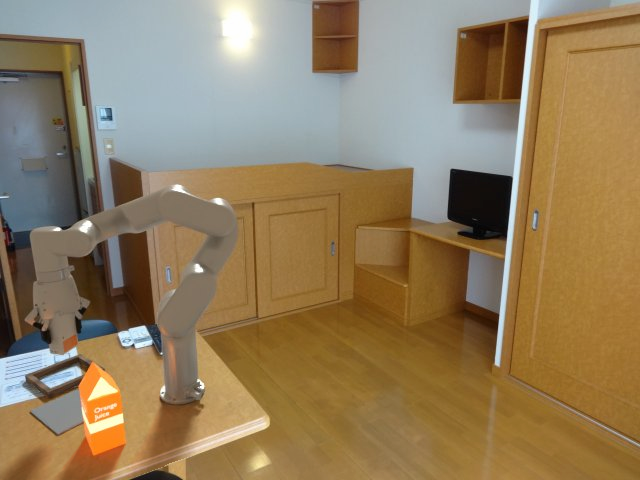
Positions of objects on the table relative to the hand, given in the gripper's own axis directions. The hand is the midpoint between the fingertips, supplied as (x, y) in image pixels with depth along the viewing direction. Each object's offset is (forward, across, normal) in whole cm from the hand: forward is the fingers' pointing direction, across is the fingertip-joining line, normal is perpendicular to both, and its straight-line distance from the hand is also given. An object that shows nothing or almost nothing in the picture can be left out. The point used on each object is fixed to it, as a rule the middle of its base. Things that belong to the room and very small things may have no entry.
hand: (62, 336), depth 127 cm
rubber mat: (+21, +1, +1) cm, 21 cm away
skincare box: (+4, 0, 0) cm, 4 cm away
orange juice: (+22, +2, +20) cm, 30 cm away
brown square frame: (+21, -6, -17) cm, 28 cm away
